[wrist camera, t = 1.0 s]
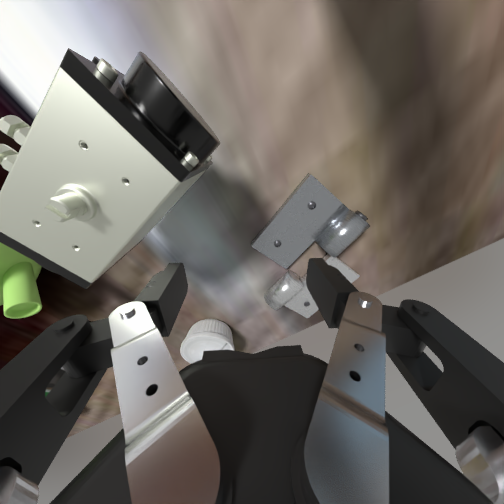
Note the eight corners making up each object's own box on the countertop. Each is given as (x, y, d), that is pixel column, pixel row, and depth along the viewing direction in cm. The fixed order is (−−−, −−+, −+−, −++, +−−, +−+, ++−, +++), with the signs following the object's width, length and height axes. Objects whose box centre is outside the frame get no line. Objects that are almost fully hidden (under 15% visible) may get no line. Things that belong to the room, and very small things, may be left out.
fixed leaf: (311, 169, 26) (321, 172, 23) (362, 218, 30) (378, 226, 27) (250, 243, 32) (251, 254, 28) (301, 276, 36) (307, 289, 32)
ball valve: (179, 85, 21) (6, -91, 6) (231, 147, 25) (210, 143, 9) (102, 192, 27) (-94, 250, 11) (153, 231, 30) (56, 318, 14)
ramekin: (237, 344, 45) (236, 366, 41) (192, 347, 45) (186, 369, 41) (232, 312, 40) (231, 334, 35) (181, 316, 40) (173, 338, 35)
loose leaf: (313, 239, 32) (321, 250, 28) (356, 272, 36) (368, 285, 32) (263, 290, 37) (265, 304, 33) (305, 314, 41) (311, 329, 37)
